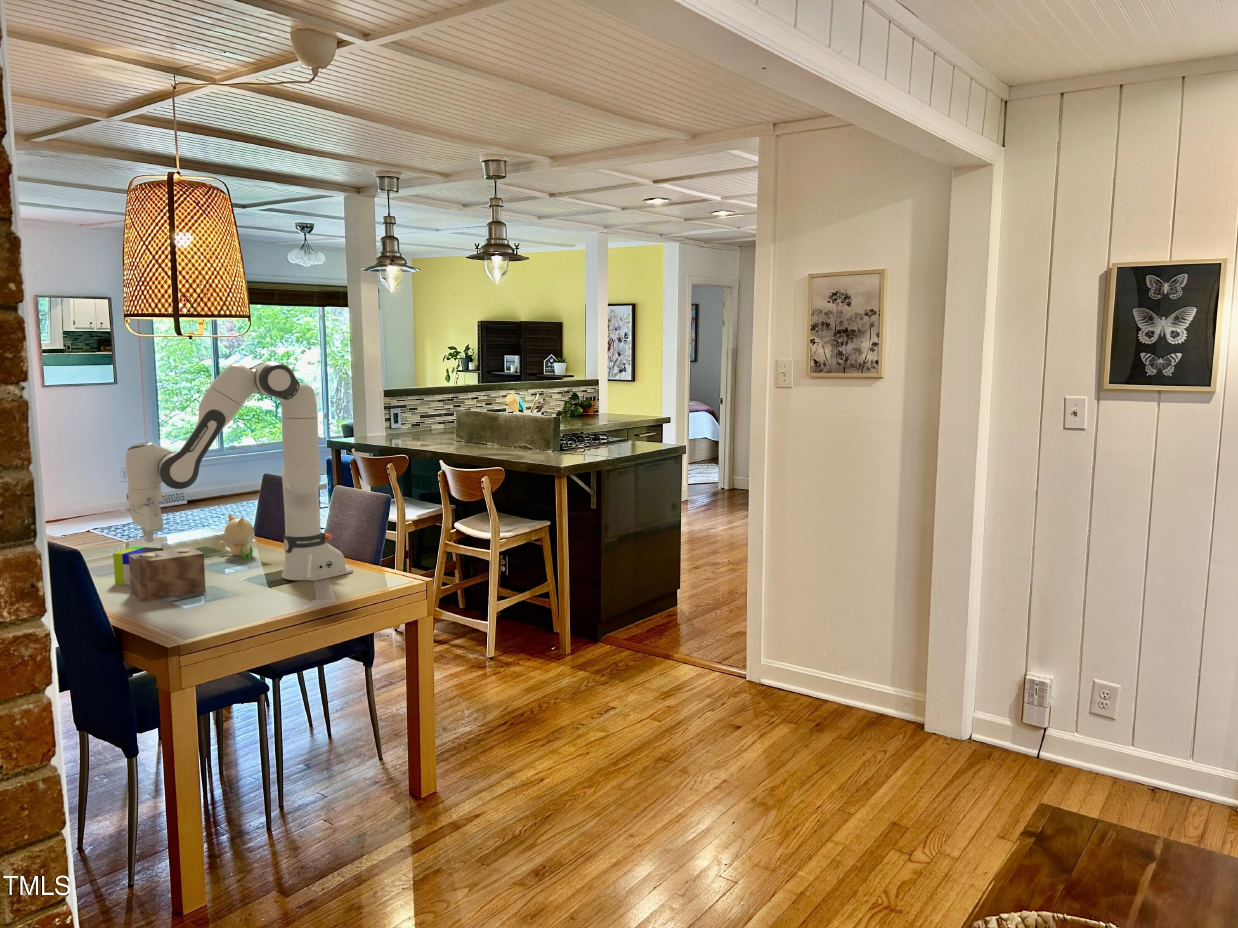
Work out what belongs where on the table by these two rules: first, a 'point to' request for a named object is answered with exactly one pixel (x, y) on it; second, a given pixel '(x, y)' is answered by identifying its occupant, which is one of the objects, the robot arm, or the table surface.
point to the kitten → (238, 537)
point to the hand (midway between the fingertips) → (149, 541)
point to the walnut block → (167, 573)
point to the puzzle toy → (127, 563)
